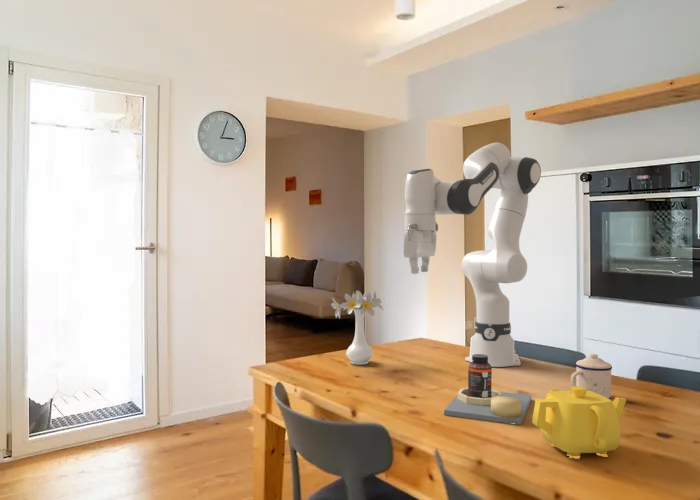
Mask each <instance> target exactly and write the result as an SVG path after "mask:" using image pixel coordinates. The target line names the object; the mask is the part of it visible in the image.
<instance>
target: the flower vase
mask: <svg viewBox="0 0 700 500" xmlns="http://www.w3.org/2000/svg"><path fill="white" fill-rule="evenodd" d="M331 299H332V303H331V305H330V306H331V307H332V309H334V311H335V312H334V314H335V315H334V316H335V318H338V319H341V312H342V311H345V310H346V313H347V315H351V314H352V313H353V312H354V317H355V319H354V320H355V325H354V326H355V329H354V330H355V331H354V337H353V340H352V343H351V344H350V345H349V346H348V348H347V349H346V352H345V355H346V357H347V358H348V359H349V360H350V363H351V364H352V365H358V366H360V365H361V366H363V365H368V364H369V361H370V360H371V359H372V357H373V356H374V351H373V349H372V347H371V346H370V345H369V344H368V342H367V340H366V335H365V315H366V312H367V313H368V314H369V316H372V317H373V316H374V315H375V310H374V308H376V307H378V308H379V309H381V310H382V311H384V308H383V307H382V305H381V303H382V300H381V299H380V298H379V297H377V293H376V290H373V293H372V294H371V292H370V291H368V292H365V293H364V294H362V292H361V291H360V290H356V291H355V292H353V293H352V295H350V294H349V293H345V294H344V300H345V301H346V302H342V303H341V304H339V302H337V301H336V299H335V298H334V297H331Z"/></svg>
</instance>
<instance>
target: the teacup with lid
mask: <svg viewBox="0 0 700 500" xmlns="http://www.w3.org/2000/svg"><path fill="white" fill-rule="evenodd" d="M575 367H576V369H575V370H576V371H574V372H573V373H572V374H571V375H570V384H571V386H572V387H575V386H579V387H584V388H586V389H587V390H588V391H592V392H595V393H597V394H599V395H602V396H604V397H606V398H610V397H611V398H612V369H613V367H612V364H611V363H610V362H607V361H605V360H603V359H602V358H600V357H599V355H598V354H597V353H589V357H585V358H583V359H580V360H577V361H576V362H575ZM611 398H610V399H611Z"/></svg>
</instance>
